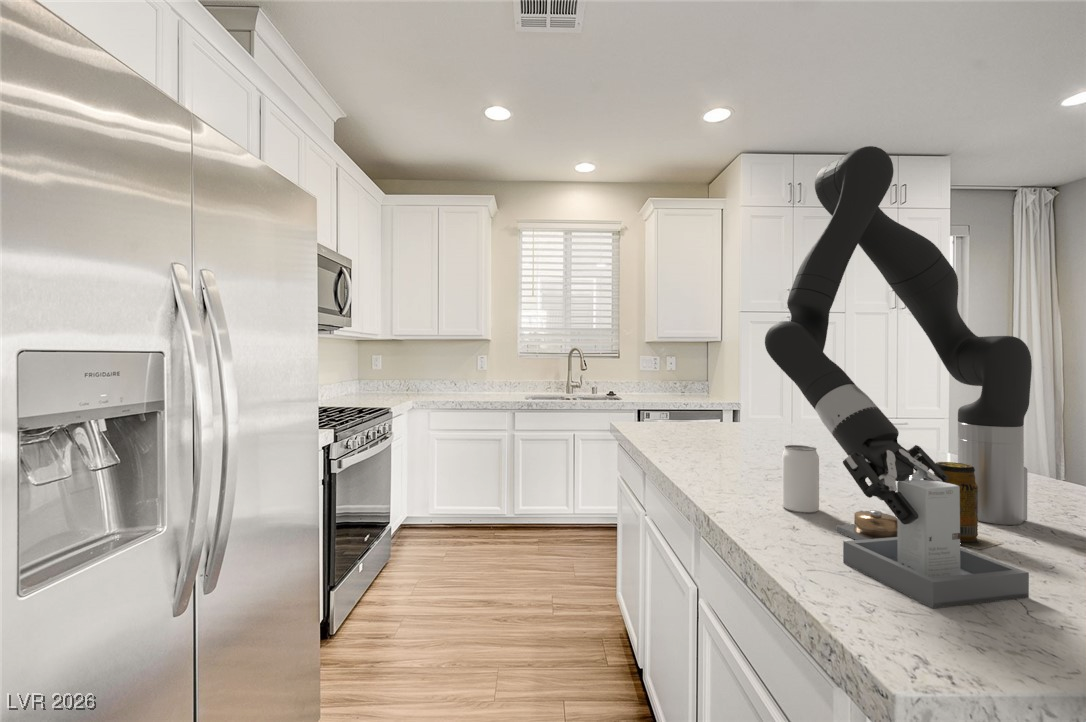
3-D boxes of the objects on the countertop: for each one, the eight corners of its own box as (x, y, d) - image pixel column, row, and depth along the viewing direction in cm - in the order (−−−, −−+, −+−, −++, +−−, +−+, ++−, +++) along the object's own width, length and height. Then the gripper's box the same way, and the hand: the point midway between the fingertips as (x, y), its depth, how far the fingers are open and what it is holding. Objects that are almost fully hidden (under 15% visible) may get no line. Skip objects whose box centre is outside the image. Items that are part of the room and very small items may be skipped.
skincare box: (926, 583, 67) (926, 488, 67) (894, 569, 72) (894, 480, 71) (963, 577, 69) (963, 485, 69) (930, 564, 73) (930, 478, 73)
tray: (925, 555, 78) (925, 534, 78) (1028, 597, 64) (1028, 572, 64) (843, 562, 75) (843, 541, 75) (933, 608, 62) (933, 582, 62)
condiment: (942, 528, 91) (943, 459, 91) (1003, 543, 83) (1003, 468, 83) (918, 534, 88) (918, 462, 87) (978, 551, 80) (978, 472, 80)
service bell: (876, 528, 90) (876, 503, 90) (918, 544, 83) (918, 517, 83) (836, 531, 89) (836, 506, 89) (874, 548, 81) (874, 520, 81)
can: (823, 514, 98) (823, 450, 98) (786, 512, 100) (786, 449, 100) (813, 505, 105) (813, 445, 105) (778, 503, 106) (778, 444, 106)
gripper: (835, 407, 75) (918, 509, 64) (904, 403, 80) (991, 497, 69) (805, 438, 80) (877, 538, 69) (871, 433, 85) (947, 525, 74)
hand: (934, 517), depth 69 cm, fingers open, 8 cm apart
